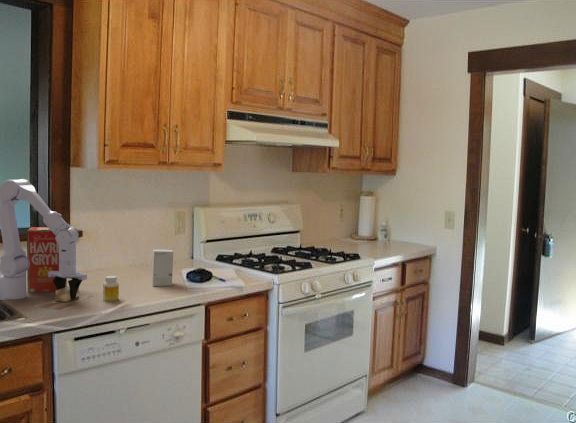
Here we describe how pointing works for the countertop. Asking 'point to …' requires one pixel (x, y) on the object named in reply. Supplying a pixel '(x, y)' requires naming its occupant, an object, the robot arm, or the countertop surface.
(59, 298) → the block
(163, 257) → the skincare box
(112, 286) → the supplement bottle
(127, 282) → the countertop surface
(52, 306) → the marked board
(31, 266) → the food packaging
